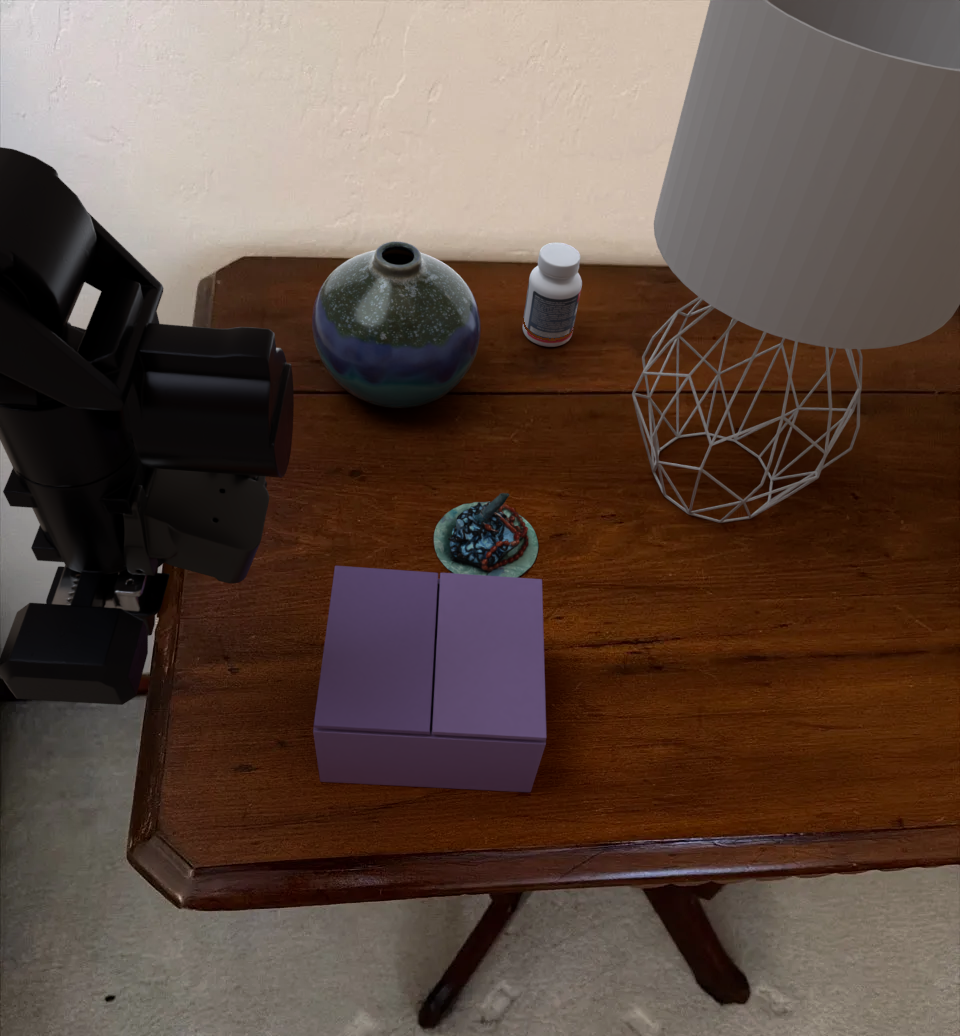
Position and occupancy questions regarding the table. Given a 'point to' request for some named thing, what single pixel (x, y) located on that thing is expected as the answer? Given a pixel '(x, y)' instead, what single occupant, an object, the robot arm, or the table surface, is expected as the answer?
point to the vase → (396, 326)
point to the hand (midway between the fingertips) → (144, 630)
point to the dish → (486, 540)
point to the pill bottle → (553, 295)
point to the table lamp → (813, 193)
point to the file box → (464, 698)
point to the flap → (378, 651)
